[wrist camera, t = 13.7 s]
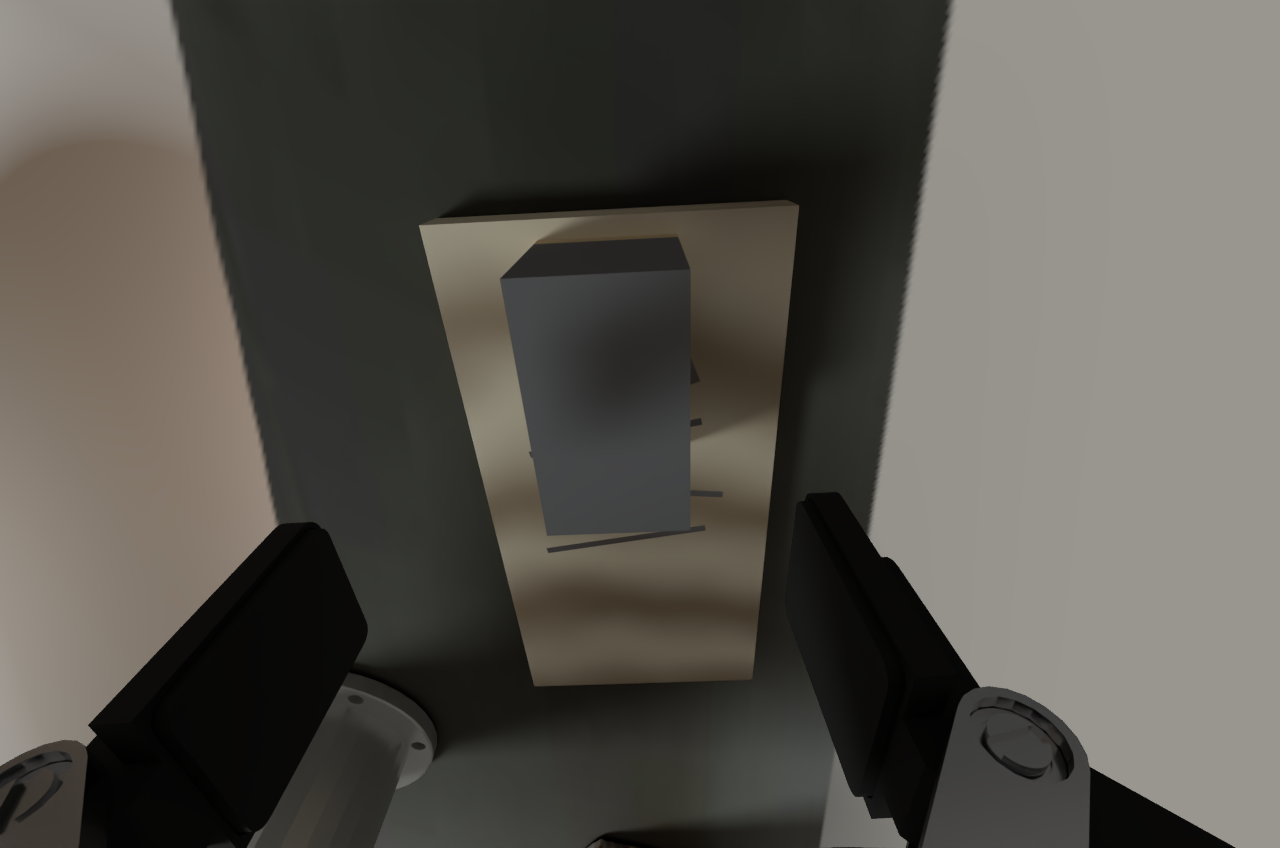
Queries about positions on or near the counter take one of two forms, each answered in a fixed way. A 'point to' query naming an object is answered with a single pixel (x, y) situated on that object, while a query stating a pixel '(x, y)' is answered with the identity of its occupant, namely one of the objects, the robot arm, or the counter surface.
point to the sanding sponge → (605, 380)
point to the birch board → (719, 448)
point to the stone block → (609, 845)
